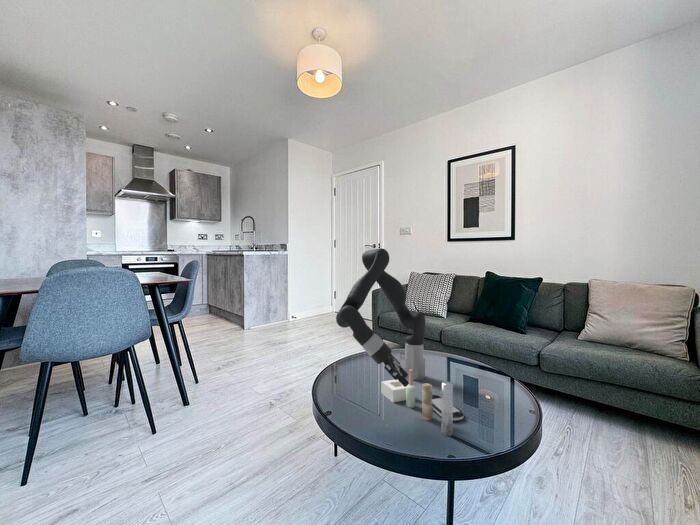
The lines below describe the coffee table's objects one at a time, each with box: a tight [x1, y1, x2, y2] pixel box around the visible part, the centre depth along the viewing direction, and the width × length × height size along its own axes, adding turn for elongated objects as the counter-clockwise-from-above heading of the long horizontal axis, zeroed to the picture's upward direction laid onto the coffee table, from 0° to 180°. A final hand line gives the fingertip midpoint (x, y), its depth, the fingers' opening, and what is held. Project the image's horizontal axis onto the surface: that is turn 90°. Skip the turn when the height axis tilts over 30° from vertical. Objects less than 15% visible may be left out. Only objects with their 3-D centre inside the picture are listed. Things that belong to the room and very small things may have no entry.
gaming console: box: [432, 394, 465, 423], centre depth 114 cm, size 19×9×3 cm, turn 14°
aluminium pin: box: [440, 380, 454, 437], centre depth 98 cm, size 4×4×16 cm
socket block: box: [380, 369, 414, 403], centre depth 126 cm, size 10×10×12 cm
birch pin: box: [421, 383, 433, 421], centre depth 108 cm, size 4×4×12 cm
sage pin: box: [405, 385, 416, 409], centre depth 117 cm, size 4×4×8 cm
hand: (406, 380), depth 109 cm, fingers open, 8 cm apart
